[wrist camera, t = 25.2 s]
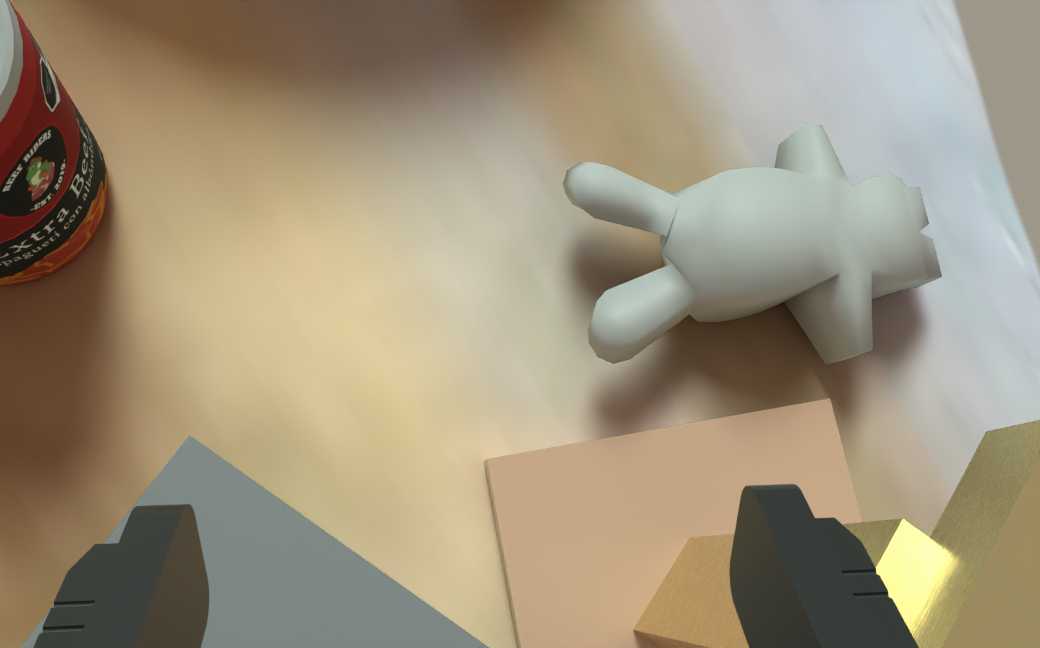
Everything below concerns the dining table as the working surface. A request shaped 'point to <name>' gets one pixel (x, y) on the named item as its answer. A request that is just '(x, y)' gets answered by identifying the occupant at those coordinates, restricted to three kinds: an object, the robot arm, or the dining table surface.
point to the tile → (644, 513)
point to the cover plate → (284, 570)
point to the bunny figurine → (761, 248)
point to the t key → (905, 564)
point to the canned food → (42, 163)
